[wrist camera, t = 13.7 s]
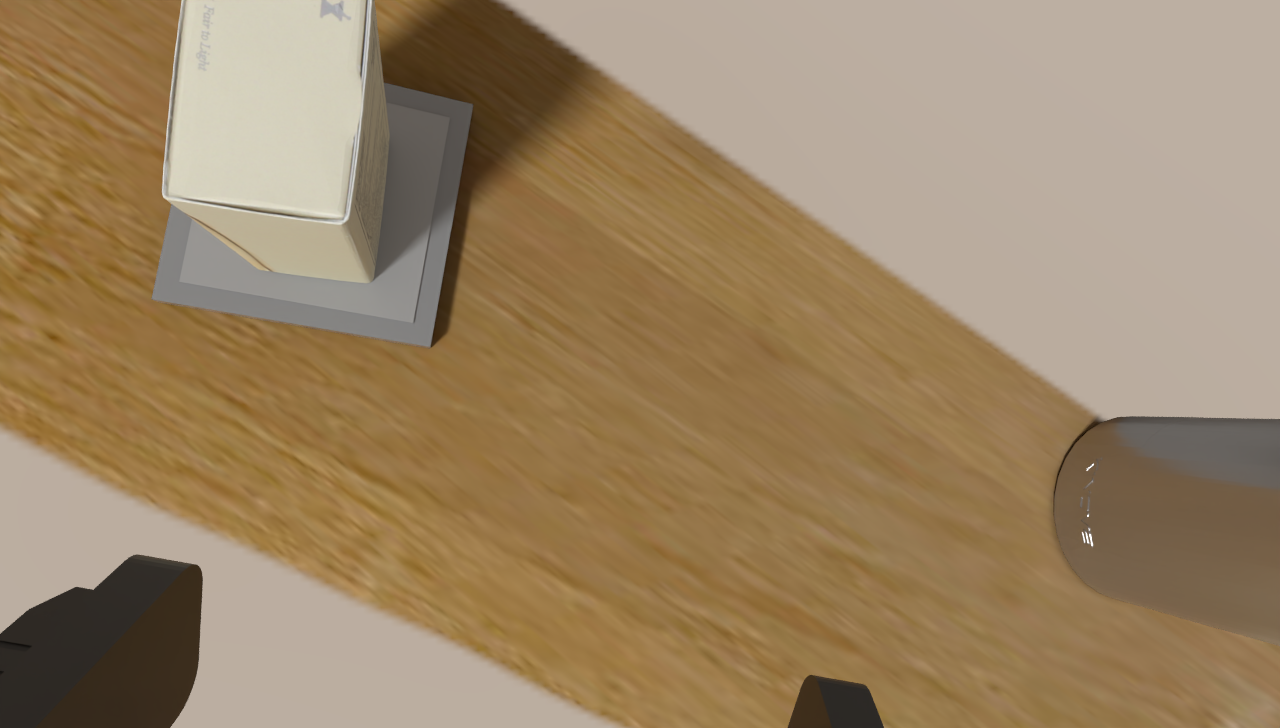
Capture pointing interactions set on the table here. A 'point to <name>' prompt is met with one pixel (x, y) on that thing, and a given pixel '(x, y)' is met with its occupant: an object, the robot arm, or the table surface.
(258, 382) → the table surface
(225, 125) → the skincare box
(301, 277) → the plate
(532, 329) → the table surface
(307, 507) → the table surface
